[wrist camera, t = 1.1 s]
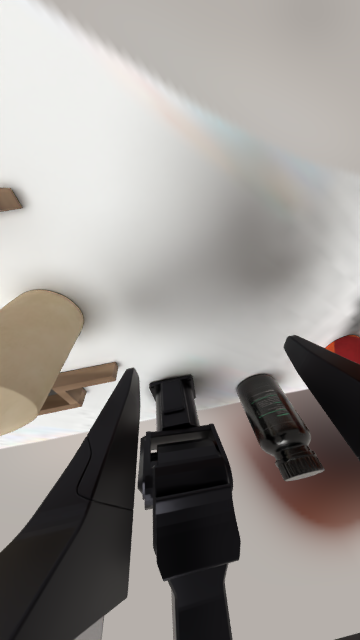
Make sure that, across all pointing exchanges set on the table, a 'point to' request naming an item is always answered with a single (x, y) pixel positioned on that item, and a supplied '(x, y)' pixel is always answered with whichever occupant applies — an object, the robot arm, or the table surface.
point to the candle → (33, 352)
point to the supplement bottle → (278, 427)
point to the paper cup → (347, 347)
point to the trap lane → (68, 383)
